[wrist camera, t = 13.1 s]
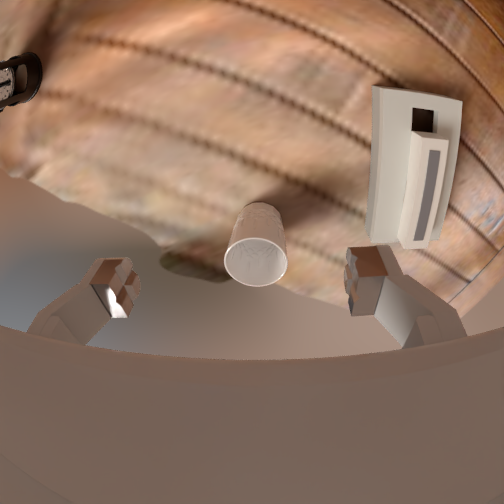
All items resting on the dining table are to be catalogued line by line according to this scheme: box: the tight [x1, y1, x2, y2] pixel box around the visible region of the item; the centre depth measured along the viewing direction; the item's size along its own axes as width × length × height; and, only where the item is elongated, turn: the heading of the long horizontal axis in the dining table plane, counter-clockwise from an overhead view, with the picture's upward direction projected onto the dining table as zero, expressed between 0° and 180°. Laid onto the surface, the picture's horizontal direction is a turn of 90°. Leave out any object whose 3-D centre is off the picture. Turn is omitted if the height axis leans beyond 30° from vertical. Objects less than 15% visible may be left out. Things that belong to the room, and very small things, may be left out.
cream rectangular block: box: [397, 131, 449, 249], centre depth 32 cm, size 16×4×6 cm, turn 7°
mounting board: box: [365, 85, 462, 243], centre depth 33 cm, size 22×12×4 cm, turn 7°
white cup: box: [224, 202, 288, 286], centre depth 39 cm, size 8×8×10 cm
